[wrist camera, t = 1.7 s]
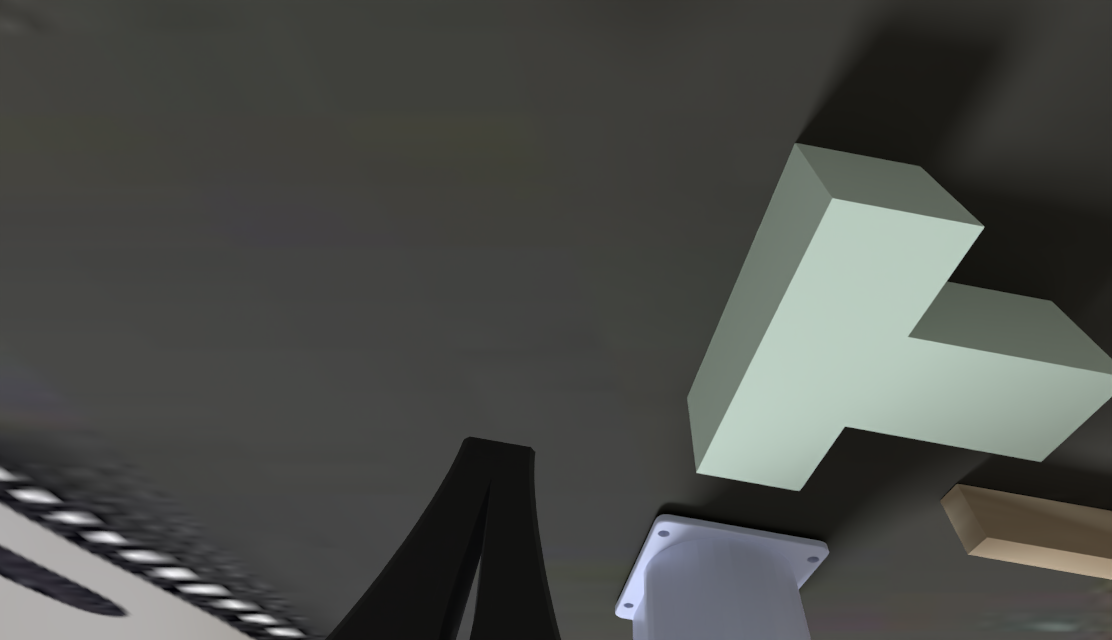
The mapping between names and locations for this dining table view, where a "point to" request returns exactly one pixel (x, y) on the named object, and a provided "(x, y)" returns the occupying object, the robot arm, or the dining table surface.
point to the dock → (1031, 530)
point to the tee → (879, 333)
